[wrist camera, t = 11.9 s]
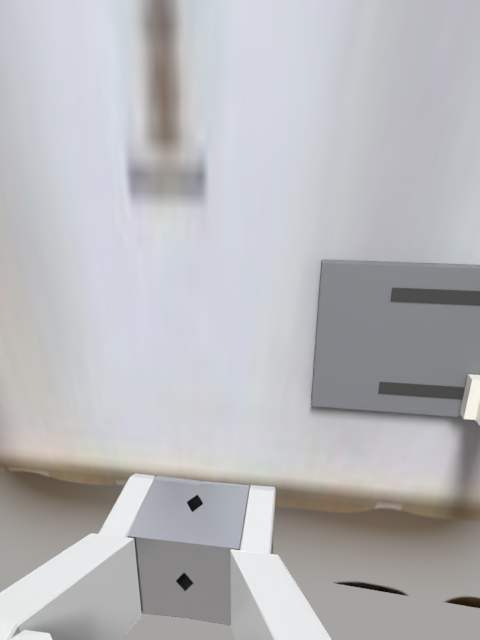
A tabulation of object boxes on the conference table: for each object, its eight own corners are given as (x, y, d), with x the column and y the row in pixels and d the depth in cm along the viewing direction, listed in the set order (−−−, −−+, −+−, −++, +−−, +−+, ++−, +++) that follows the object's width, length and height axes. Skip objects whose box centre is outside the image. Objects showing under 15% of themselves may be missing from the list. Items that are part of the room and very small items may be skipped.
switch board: (311, 398, 43) (311, 406, 41) (321, 259, 38) (322, 263, 36) (526, 413, 40) (534, 423, 39) (565, 267, 35) (577, 272, 34)
